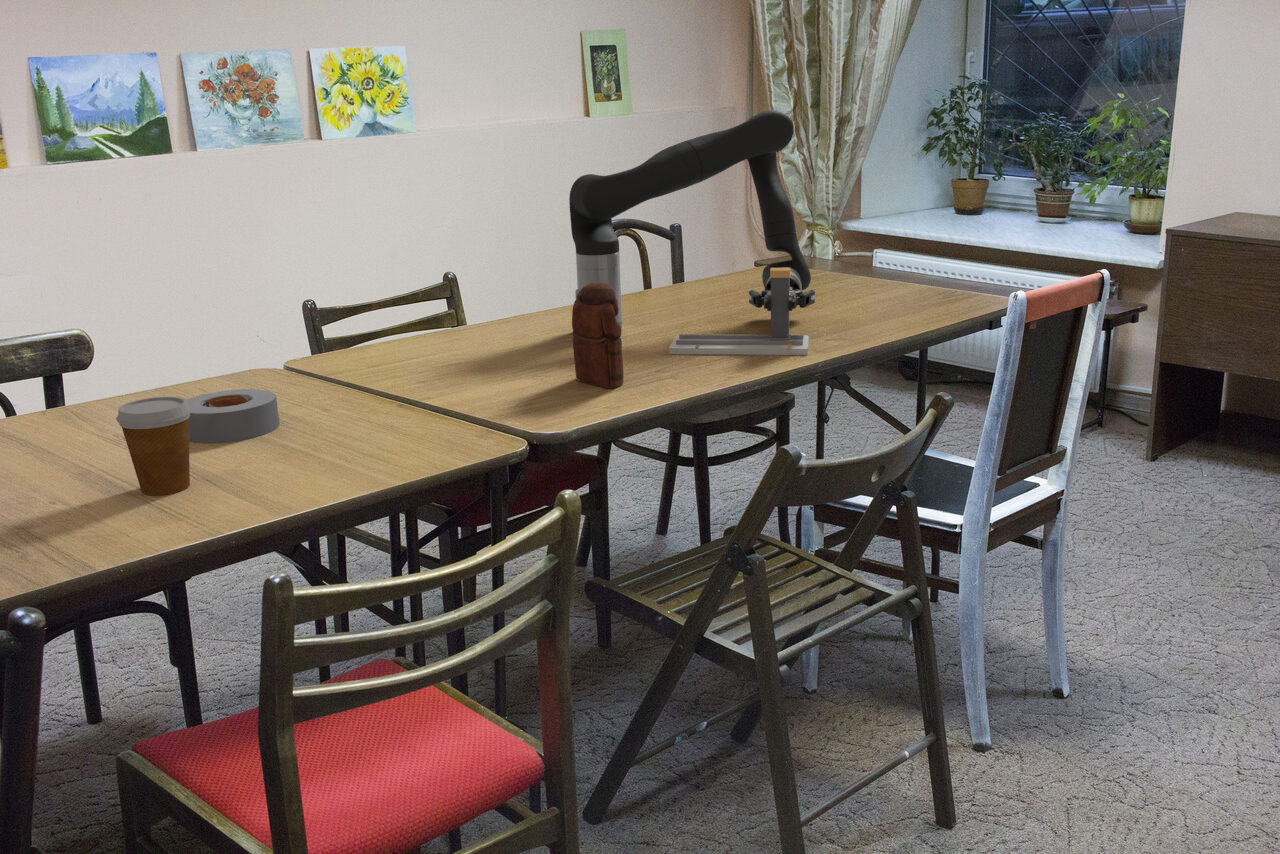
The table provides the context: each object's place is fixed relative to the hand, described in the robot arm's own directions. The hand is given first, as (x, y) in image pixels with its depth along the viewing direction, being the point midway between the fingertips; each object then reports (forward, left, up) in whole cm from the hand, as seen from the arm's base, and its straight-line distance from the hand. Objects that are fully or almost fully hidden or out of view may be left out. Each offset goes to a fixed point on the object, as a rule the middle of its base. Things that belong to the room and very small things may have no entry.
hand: (779, 305), depth 227 cm
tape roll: (-86, -57, -10) cm, 104 cm away
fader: (0, +3, -8) cm, 8 cm away
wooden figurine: (-31, -25, -9) cm, 41 cm away
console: (-8, +3, -9) cm, 12 cm away
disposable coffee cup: (-81, -85, -9) cm, 118 cm away
